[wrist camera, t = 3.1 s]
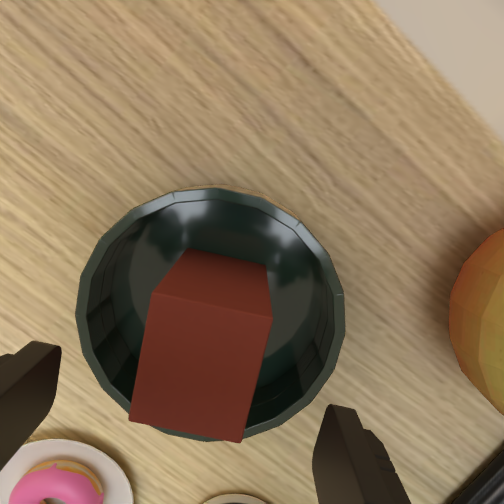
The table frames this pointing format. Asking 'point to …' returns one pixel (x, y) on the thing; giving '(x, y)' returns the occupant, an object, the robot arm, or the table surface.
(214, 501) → the pill bottle
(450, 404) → the table surface
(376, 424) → the table surface
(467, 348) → the apple
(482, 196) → the table surface
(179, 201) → the dark green round dish
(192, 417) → the red rectangular block
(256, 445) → the table surface
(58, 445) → the donut
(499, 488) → the black drawer box
